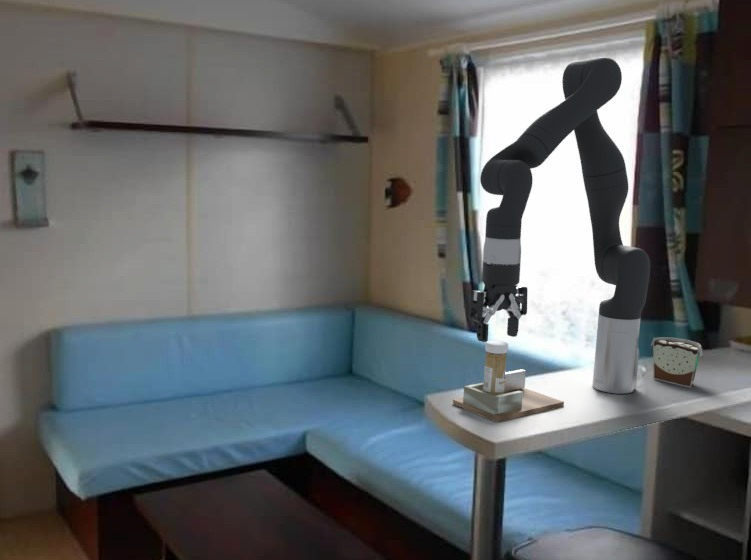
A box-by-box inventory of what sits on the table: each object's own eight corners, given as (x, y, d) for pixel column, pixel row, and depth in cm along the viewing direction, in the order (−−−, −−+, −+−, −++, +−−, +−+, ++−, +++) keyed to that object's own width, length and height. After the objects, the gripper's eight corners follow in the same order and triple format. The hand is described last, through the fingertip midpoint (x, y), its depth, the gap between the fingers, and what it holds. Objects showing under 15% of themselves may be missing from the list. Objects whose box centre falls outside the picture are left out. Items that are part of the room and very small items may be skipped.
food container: (707, 384, 189) (712, 344, 188) (696, 389, 185) (701, 347, 184) (659, 373, 198) (663, 334, 196) (647, 377, 194) (651, 337, 192)
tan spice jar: (504, 409, 161) (509, 345, 159) (482, 408, 161) (486, 344, 159) (502, 402, 165) (507, 340, 163) (480, 401, 165) (484, 338, 163)
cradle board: (518, 390, 178) (519, 371, 177) (563, 406, 168) (565, 385, 167) (453, 404, 166) (454, 383, 165) (497, 422, 156) (498, 400, 155)
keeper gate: (490, 395, 169) (492, 377, 168) (484, 393, 170) (486, 375, 170) (525, 388, 175) (526, 370, 175) (519, 386, 177) (520, 368, 176)
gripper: (512, 255, 165) (508, 331, 168) (462, 259, 157) (459, 339, 160) (539, 260, 160) (534, 338, 162) (489, 264, 151) (485, 347, 154)
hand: (497, 338), depth 161 cm, fingers open, 8 cm apart
